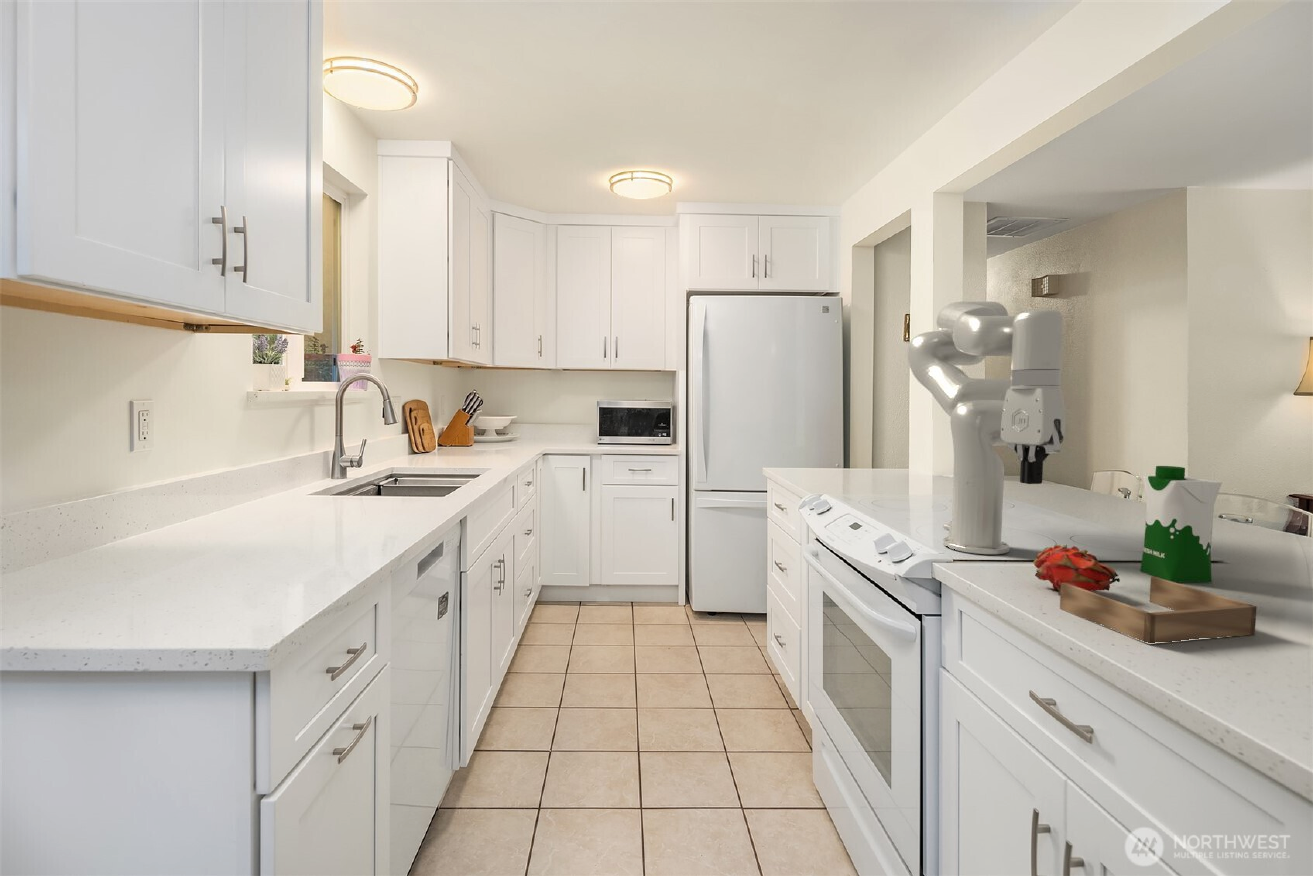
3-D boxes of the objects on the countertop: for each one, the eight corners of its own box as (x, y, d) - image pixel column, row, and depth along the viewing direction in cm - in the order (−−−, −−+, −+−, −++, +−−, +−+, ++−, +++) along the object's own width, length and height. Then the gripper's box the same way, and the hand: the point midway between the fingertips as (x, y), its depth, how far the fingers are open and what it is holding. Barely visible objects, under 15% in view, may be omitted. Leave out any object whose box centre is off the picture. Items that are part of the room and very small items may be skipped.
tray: (1059, 608, 92) (1061, 583, 92) (1153, 601, 96) (1155, 576, 96) (1149, 645, 79) (1151, 615, 79) (1254, 635, 82) (1256, 606, 82)
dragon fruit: (1026, 591, 106) (1110, 619, 97) (1022, 572, 100) (1109, 600, 92) (1042, 549, 108) (1125, 572, 100) (1038, 528, 102) (1126, 551, 94)
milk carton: (1131, 569, 114) (1137, 464, 112) (1180, 570, 113) (1187, 464, 112) (1169, 584, 105) (1177, 470, 103) (1222, 584, 105) (1231, 470, 103)
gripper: (986, 382, 114) (982, 478, 115) (1052, 379, 99) (1047, 489, 100) (1020, 382, 115) (1016, 477, 117) (1090, 379, 101) (1085, 488, 102)
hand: (1030, 483), depth 108 cm, fingers closed
